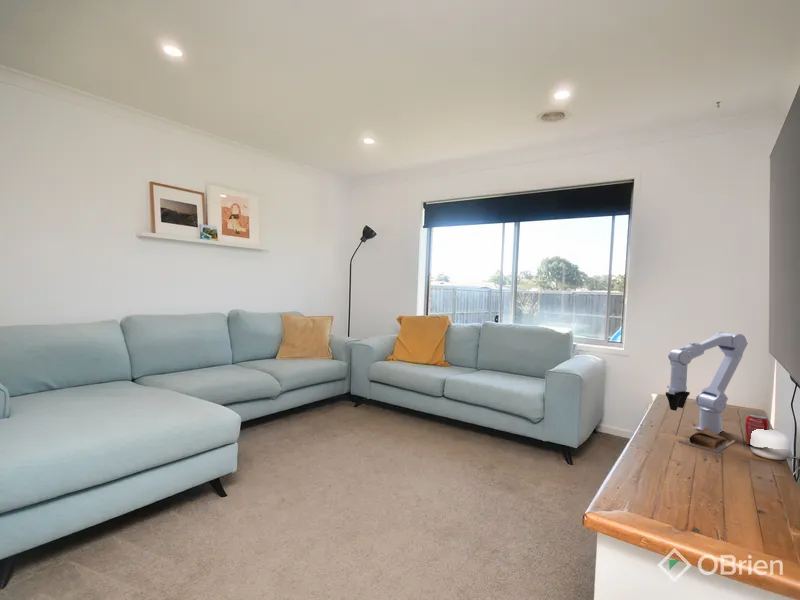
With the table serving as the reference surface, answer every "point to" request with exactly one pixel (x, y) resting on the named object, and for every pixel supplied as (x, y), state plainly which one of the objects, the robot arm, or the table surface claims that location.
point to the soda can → (755, 425)
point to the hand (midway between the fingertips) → (676, 408)
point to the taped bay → (709, 449)
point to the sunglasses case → (706, 438)
